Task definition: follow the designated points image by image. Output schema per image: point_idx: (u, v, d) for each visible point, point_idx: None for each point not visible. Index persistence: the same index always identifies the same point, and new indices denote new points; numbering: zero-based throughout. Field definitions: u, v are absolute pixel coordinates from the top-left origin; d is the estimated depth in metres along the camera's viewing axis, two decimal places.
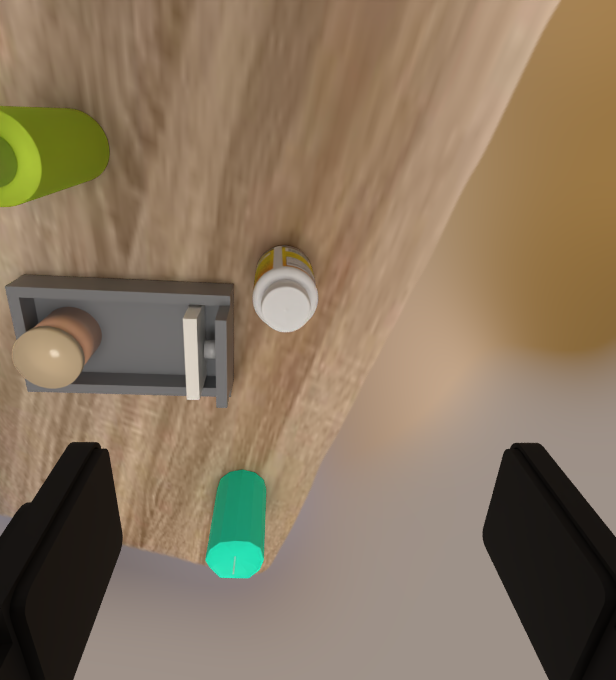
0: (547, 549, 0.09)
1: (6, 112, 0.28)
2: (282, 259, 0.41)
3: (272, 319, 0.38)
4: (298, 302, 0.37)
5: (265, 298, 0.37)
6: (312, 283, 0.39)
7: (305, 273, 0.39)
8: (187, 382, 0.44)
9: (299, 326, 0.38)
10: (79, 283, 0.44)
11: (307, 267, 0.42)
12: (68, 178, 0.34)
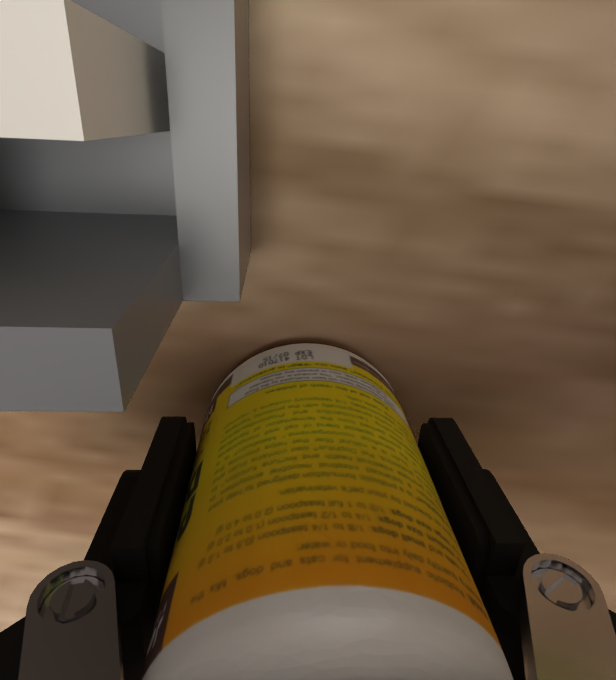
0: (446, 512, 0.10)
1: None
2: None
3: None
4: None
5: None
6: None
7: None
8: None
9: None
10: None
11: None
12: None
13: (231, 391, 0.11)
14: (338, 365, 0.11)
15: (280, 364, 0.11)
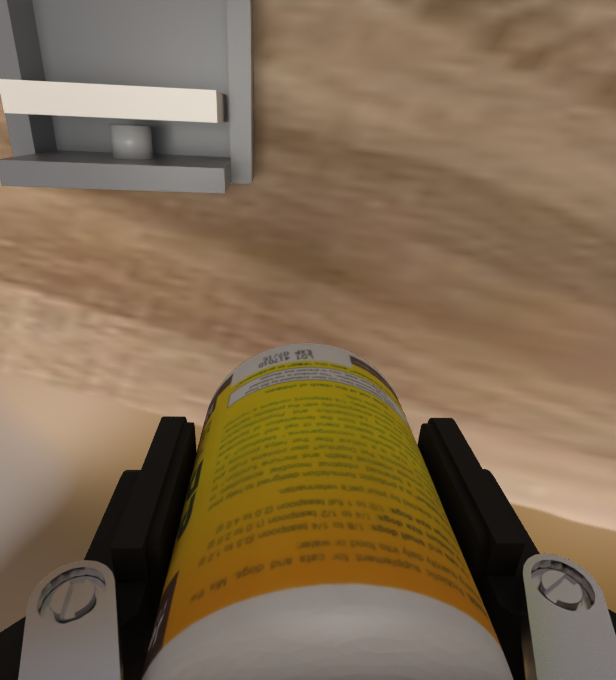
0: (446, 512, 0.10)
1: None
2: None
3: None
4: None
5: None
6: None
7: None
8: (48, 84, 0.19)
9: None
10: None
11: None
12: None
13: (232, 391, 0.11)
14: (338, 364, 0.11)
15: (280, 363, 0.11)
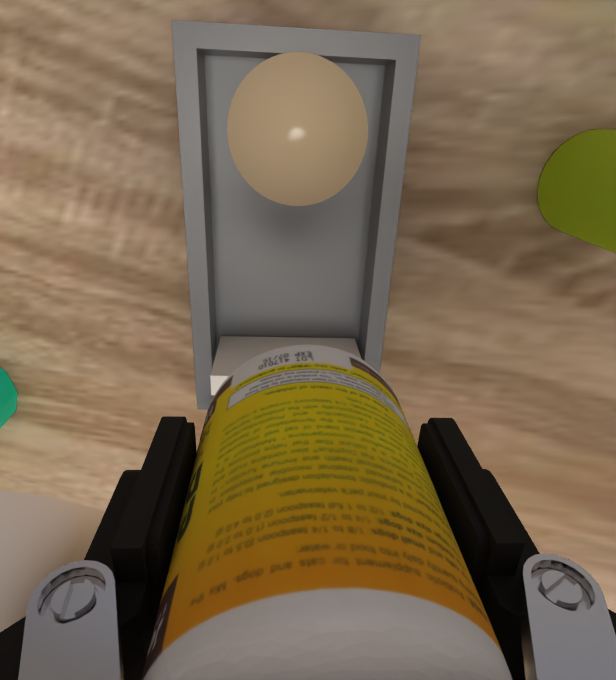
0: (445, 512, 0.10)
1: None
2: None
3: None
4: None
5: None
6: None
7: None
8: None
9: None
10: None
11: None
12: None
13: (231, 392, 0.11)
14: (338, 366, 0.11)
15: (280, 365, 0.11)
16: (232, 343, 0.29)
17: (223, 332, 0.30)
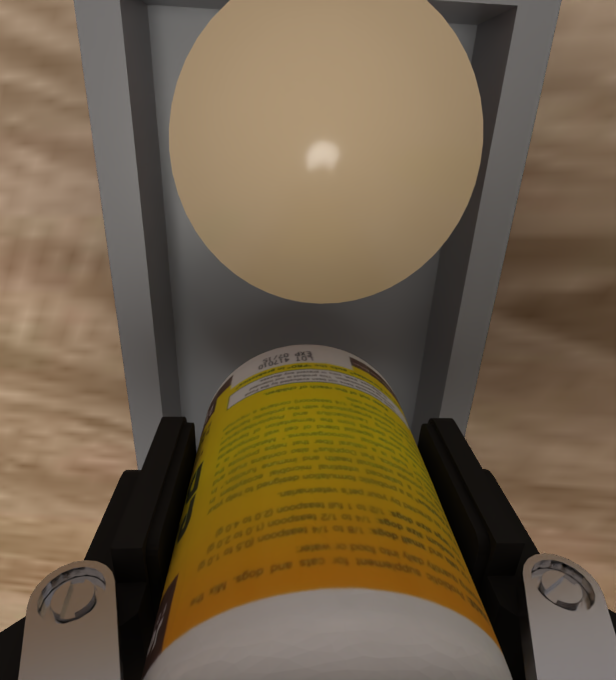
0: (446, 512, 0.10)
1: None
2: None
3: None
4: None
5: None
6: None
7: None
8: None
9: None
10: None
11: None
12: None
13: (231, 392, 0.11)
14: (338, 366, 0.11)
15: (280, 365, 0.11)
16: None
17: None
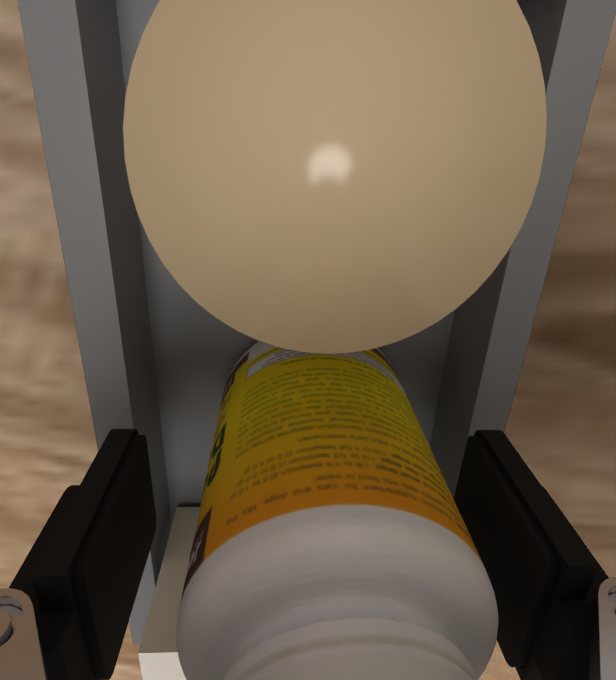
0: (502, 529, 0.10)
1: None
2: None
3: None
4: None
5: None
6: None
7: None
8: None
9: None
10: None
11: None
12: None
13: (248, 365, 0.13)
14: None
15: None
16: (195, 530, 0.16)
17: (181, 499, 0.17)
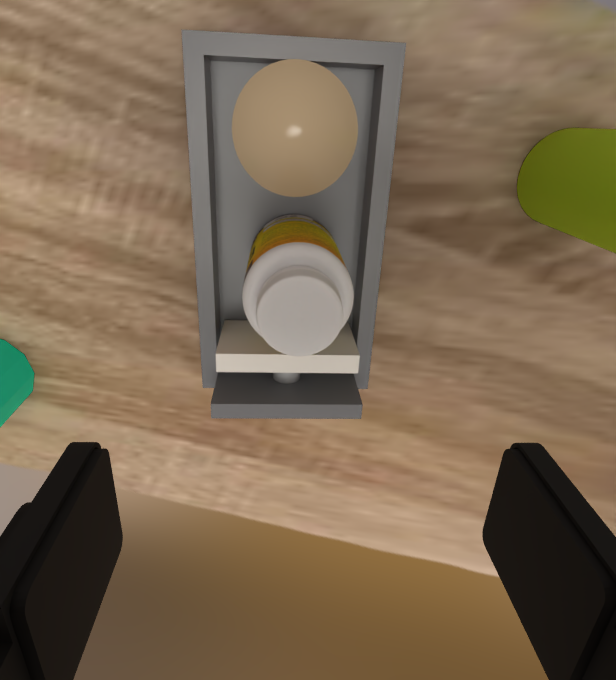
0: (547, 549, 0.09)
1: None
2: None
3: (281, 295, 0.21)
4: (313, 338, 0.22)
5: (322, 283, 0.21)
6: None
7: None
8: (248, 355, 0.27)
9: (269, 341, 0.22)
10: None
11: None
12: (607, 247, 0.24)
13: (263, 229, 0.28)
14: (307, 219, 0.28)
15: (283, 218, 0.28)
16: (235, 326, 0.31)
17: (226, 316, 0.32)
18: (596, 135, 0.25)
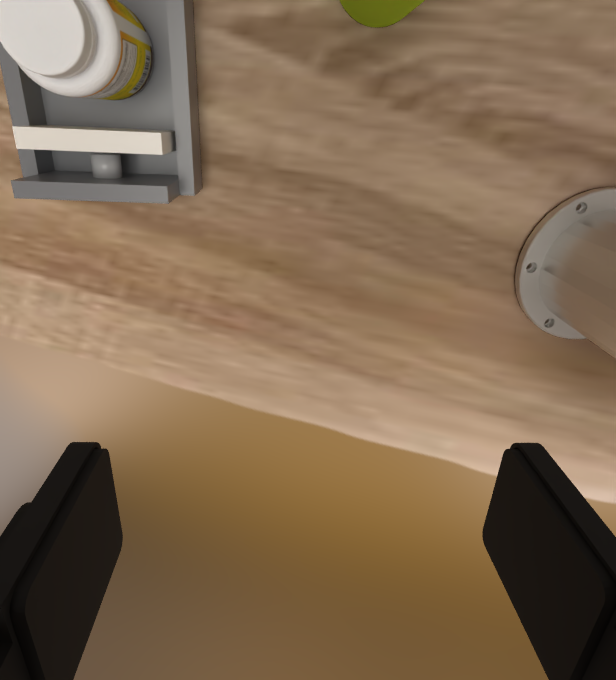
0: (547, 549, 0.09)
1: None
2: (130, 36, 0.25)
3: None
4: (57, 51, 0.22)
5: None
6: (98, 84, 0.24)
7: (113, 72, 0.24)
8: (46, 129, 0.27)
9: (11, 53, 0.22)
10: None
11: (124, 83, 0.27)
12: None
13: None
14: None
15: None
16: None
17: (53, 122, 0.32)
18: None
